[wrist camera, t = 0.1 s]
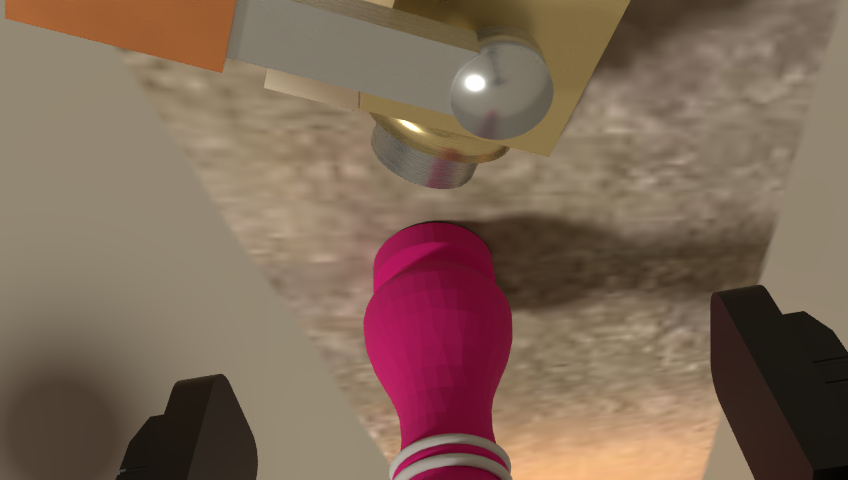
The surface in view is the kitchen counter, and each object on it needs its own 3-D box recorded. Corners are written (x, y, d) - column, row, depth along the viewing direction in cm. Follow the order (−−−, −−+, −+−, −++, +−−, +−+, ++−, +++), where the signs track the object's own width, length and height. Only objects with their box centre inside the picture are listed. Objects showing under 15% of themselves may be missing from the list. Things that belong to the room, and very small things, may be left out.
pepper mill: (361, 214, 40) (356, 626, 25) (506, 211, 40) (587, 616, 25) (366, 314, 45) (363, 711, 30) (495, 311, 45) (558, 702, 30)
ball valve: (442, -252, 24) (461, -193, 19) (634, -180, 25) (699, -108, 20) (340, 89, 31) (334, 196, 26) (494, 128, 33) (516, 237, 28)
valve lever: (29, -118, 19) (4, -91, 18) (559, 37, 23) (572, 70, 21) (28, -10, 21) (4, 21, 20) (521, 118, 24) (530, 153, 23)
